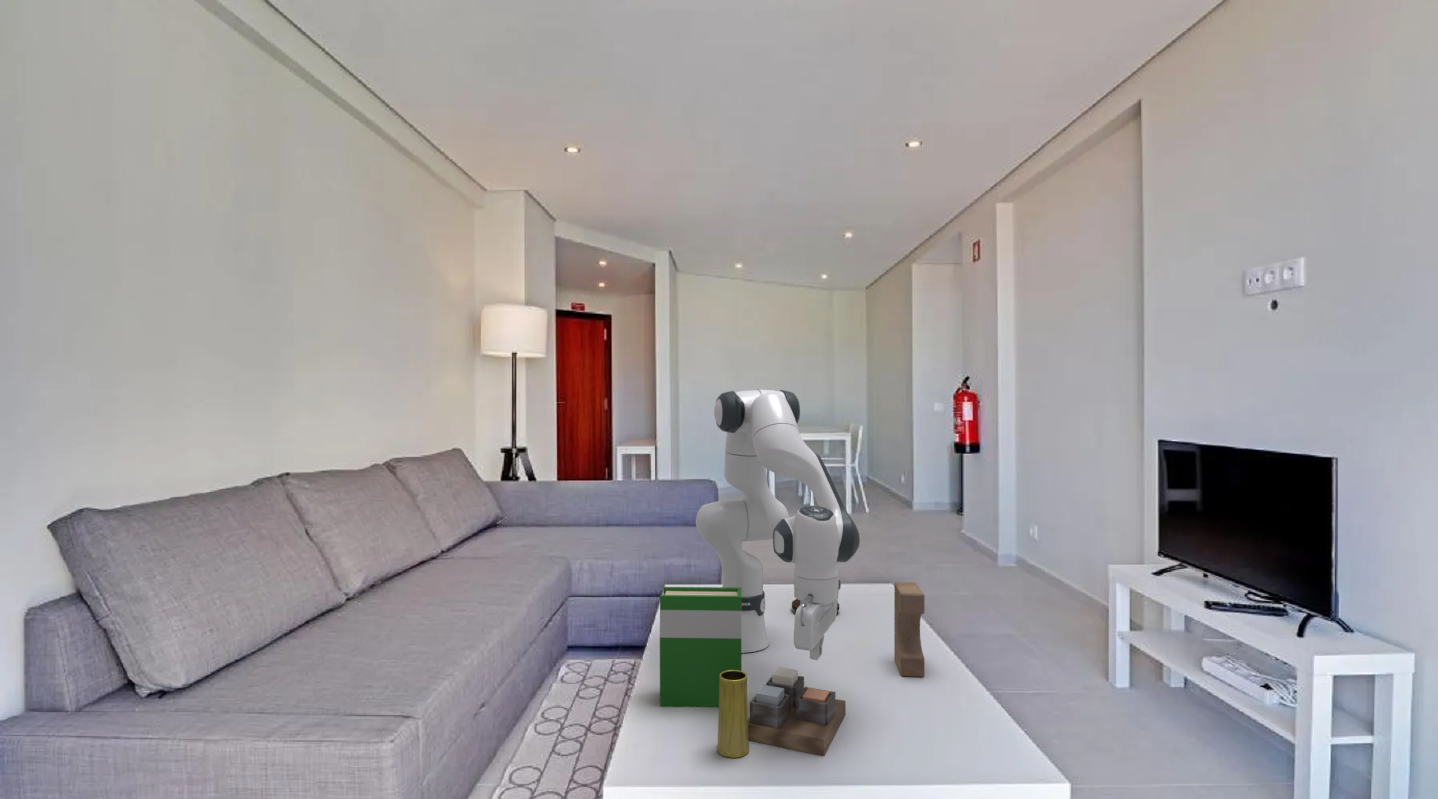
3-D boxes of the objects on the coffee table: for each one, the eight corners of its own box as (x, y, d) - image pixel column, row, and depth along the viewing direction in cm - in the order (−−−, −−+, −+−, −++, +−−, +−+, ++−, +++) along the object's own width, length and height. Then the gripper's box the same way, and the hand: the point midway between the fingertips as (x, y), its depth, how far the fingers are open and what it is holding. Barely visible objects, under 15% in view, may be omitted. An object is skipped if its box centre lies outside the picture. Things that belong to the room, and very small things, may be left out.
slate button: (756, 709, 136) (756, 693, 136) (763, 700, 140) (763, 684, 140) (777, 713, 134) (777, 697, 134) (784, 704, 138) (784, 688, 138)
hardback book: (659, 706, 149) (659, 596, 149) (663, 692, 156) (663, 586, 156) (741, 708, 148) (741, 596, 148) (741, 693, 156) (741, 587, 156)
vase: (715, 742, 133) (715, 669, 133) (747, 741, 134) (747, 668, 134) (718, 759, 127) (718, 682, 127) (751, 757, 128) (751, 681, 128)
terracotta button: (802, 712, 137) (802, 696, 137) (808, 703, 141) (808, 687, 141) (824, 716, 135) (824, 700, 135) (829, 707, 140) (829, 691, 140)
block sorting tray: (744, 739, 135) (744, 703, 135) (773, 701, 151) (773, 670, 151) (824, 755, 128) (824, 718, 128) (845, 714, 145) (845, 681, 145)
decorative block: (924, 678, 164) (924, 594, 164) (900, 676, 165) (900, 593, 165) (917, 660, 175) (917, 582, 175) (894, 659, 176) (894, 581, 176)
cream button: (772, 689, 145) (772, 674, 145) (778, 681, 149) (778, 667, 149) (792, 693, 143) (792, 677, 143) (798, 685, 147) (798, 670, 147)
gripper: (818, 605, 128) (818, 679, 128) (842, 578, 146) (842, 642, 146) (785, 601, 130) (785, 674, 130) (813, 575, 149) (813, 638, 149)
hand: (815, 657), depth 138 cm, fingers closed
